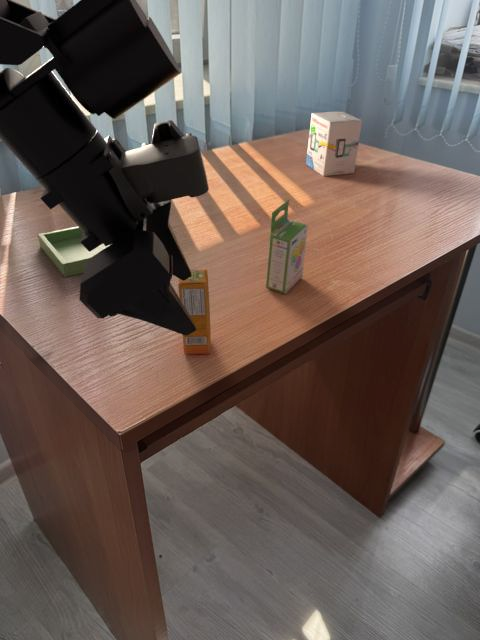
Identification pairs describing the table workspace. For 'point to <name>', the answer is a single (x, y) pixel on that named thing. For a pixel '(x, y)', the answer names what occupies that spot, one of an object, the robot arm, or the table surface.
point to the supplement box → (196, 311)
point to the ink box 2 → (333, 143)
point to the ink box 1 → (285, 251)
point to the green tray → (67, 250)
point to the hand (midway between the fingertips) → (189, 302)
